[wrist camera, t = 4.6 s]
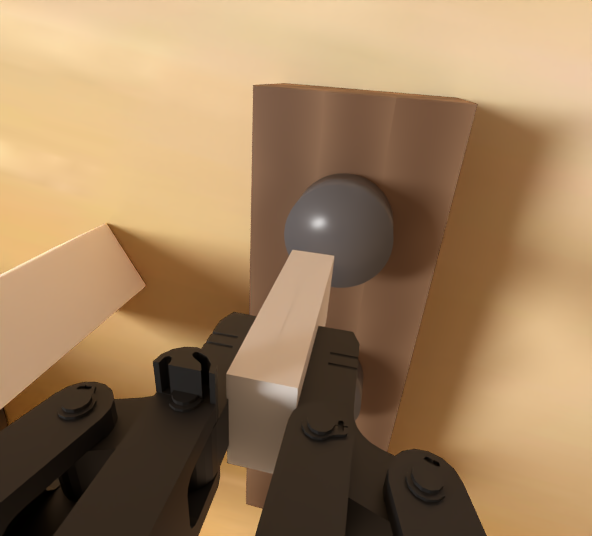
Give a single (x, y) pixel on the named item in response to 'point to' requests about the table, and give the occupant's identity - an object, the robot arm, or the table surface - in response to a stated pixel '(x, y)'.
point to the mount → (404, 203)
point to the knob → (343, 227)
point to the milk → (59, 304)
